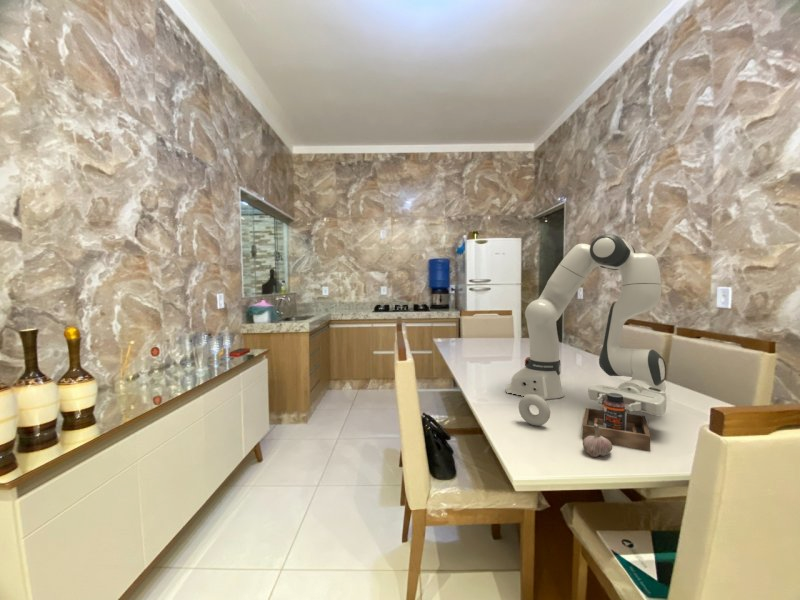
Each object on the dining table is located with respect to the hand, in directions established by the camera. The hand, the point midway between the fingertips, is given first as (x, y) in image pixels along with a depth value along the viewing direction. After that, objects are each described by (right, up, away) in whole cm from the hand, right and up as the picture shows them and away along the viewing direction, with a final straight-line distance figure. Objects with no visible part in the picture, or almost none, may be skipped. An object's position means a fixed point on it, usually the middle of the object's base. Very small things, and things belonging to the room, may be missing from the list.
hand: (613, 404), depth 103 cm
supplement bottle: (+1, -9, +1) cm, 9 cm away
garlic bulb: (-11, -10, -10) cm, 18 cm away
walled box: (+1, -9, +1) cm, 9 cm away
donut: (-20, -9, +9) cm, 24 cm away
